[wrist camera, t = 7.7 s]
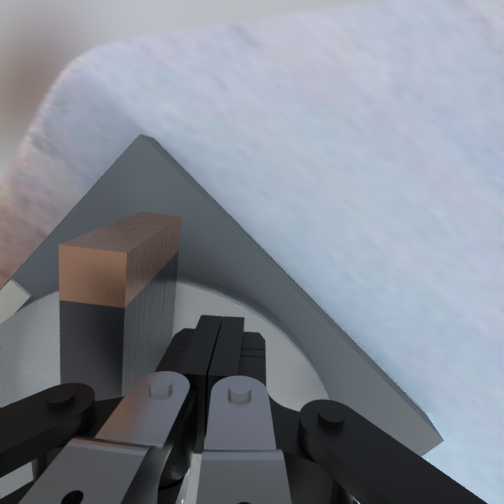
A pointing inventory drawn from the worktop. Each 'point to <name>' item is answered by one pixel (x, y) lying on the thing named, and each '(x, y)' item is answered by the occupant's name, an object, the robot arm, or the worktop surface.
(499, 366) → the worktop surface
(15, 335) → the rotary knob
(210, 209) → the plinth
